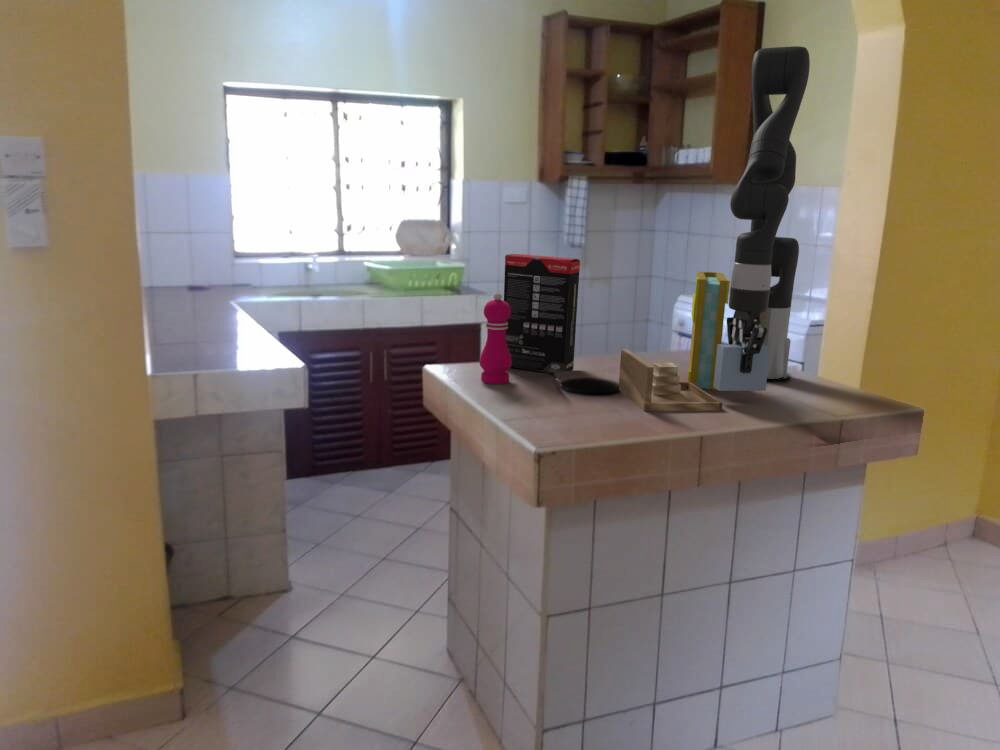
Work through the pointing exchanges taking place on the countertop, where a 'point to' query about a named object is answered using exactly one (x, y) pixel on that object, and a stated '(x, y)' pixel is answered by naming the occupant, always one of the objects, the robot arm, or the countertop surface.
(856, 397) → the countertop surface
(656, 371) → the offcut top
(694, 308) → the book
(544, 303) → the graphics card box
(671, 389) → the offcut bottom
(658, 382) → the offcut middle
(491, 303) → the pepper mill
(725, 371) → the block
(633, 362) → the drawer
